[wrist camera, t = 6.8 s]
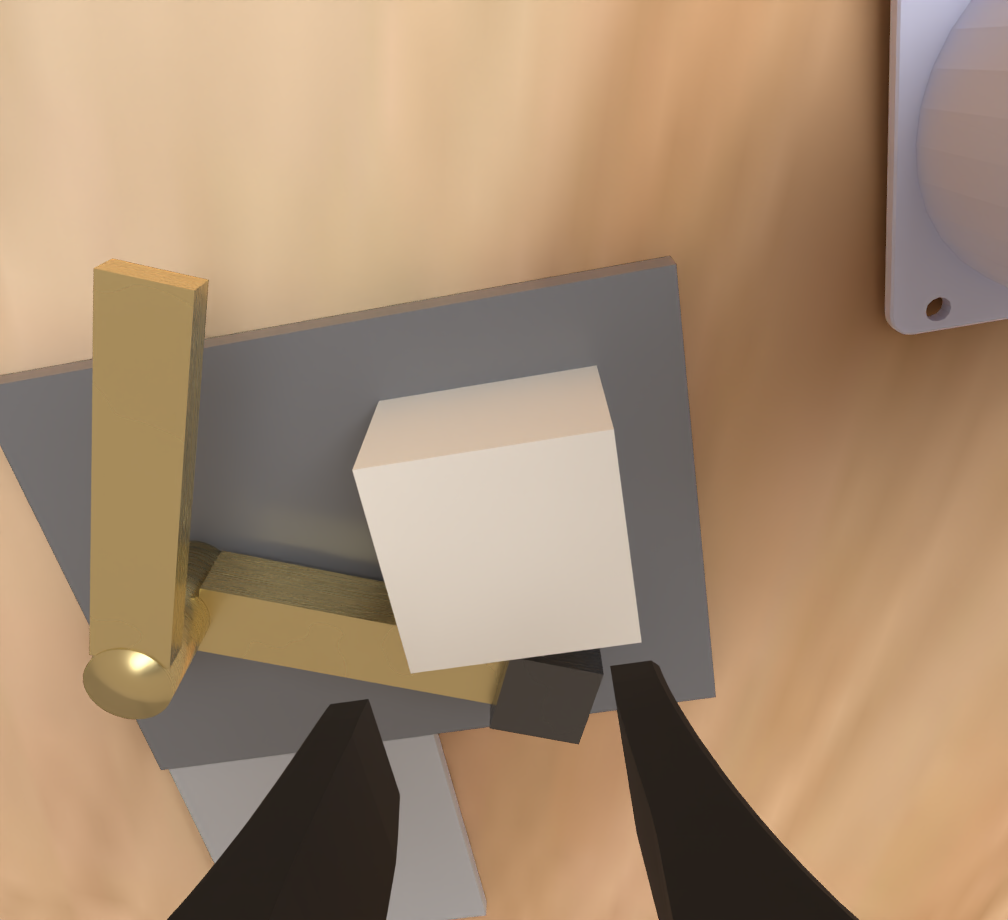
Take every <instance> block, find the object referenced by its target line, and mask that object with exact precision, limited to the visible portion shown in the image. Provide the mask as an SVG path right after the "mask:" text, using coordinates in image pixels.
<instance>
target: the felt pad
mask: <svg viewBox="0 0 1008 920" xmlns="http://www.w3.org/2000/svg"><path fill="white" fill-rule="evenodd" d="M383 744H384V747H385V750H386V753H387V756H388V759H389V762H390V765H391V768H392V772H393V775H394V778H395V781H396V784H397V787H398V790H399V793H400V808H399V829H398V844H397V858H396V866H395V872H394V878H393V884H392V890H391V896H390V901H389V907H388V913H387V918H386V920H449V919H458V918H467V917H476V916H485V915H486V898H485V894H484V891H483V888H482V884H481V881H480V877H479V874H478V870H477V867H476V863H475V860H474V856H473V853H472V849H471V846H470V842H469V839H468V836H467V832H466V829H465V825H464V822H463V818H462V815H461V811H460V808H459V804H458V801H457V797H456V794H455V790H454V787H453V783H452V780H451V777H450V773H449V770H448V766H447V763H446V759H445V756H444V752H443V749H442V745H441V742H440V738H439V735H438V734H431V735H424V736H416V737H408V738H401V739H393V740H386V741H383ZM295 754H296V752H294V753H287V754H279V755H272V756H264V757H256V758H249V759H241V760H234V761H226V762H218V763H211V764H203V765H196V766H188V767H180V768H173V769H169V771H170V773H171V776H172V778H173V780H174V782H175V784H176V786H177V788H178V790H179V792H180V794H181V796H182V798H183V800H184V802H185V804H186V806H187V808H188V810H189V812H190V814H191V816H192V818H193V820H194V823H195V825H196V827H197V829H198V831H199V833H200V835H201V837H202V839H203V841H204V843H205V845H206V847H207V849H208V851H209V853H210V855H211V857H212V859H213V861H214V863H216V861H217V860H218V859H219V858H220V856H221V855H222V854H223V853H224V851H225V850H226V849H227V847H228V846H229V845H230V844H231V842H232V841H233V840H234V839H235V837H236V836H237V835H238V834H239V832H240V831H241V830H242V828H243V827H244V826H245V824H246V823H247V822H248V820H249V819H250V818H251V816H252V815H253V813H254V812H255V811H256V809H257V808H258V807H259V805H260V804H261V802H262V801H263V800H264V798H265V797H266V795H267V794H268V793H269V791H270V790H271V788H272V787H273V786H274V784H275V783H276V781H277V780H278V779H279V777H280V776H281V774H282V773H283V771H284V770H285V769H286V767H287V766H288V764H289V763H290V761H291V760H292V758H293V757H294V755H295Z"/></svg>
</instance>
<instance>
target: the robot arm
mask: <svg viewBox="0 0 1008 920" xmlns="http://www.w3.org/2000/svg"><path fill="white" fill-rule="evenodd" d="M939 297H941V298H942V301H943V303H942V306H941V309H940V310H939V311H938V312H937V313H936V314H934V315H931V316H927V315H926V309H927V306H928V304H929V303H930V302H931V301H932V300H934V299H936V298H939ZM885 317H886V321H887V322H888V324H889V325H890V326H891V327H892V328H893V329H895V330H896V331H898V332H900V333H902V334H909V335H914V334H920V333H926V332H932V331H938V330H944V329H950V328H956V327H962V326H968V325H974V324H980V323H986V322H992V321H998V320H1004V319H1008V0H891V11H890V64H889V116H888V169H887V221H886V273H885ZM610 669H611V675H612V681H613V688H614V694H615V700H616V706H617V713H618V719H619V725H620V731H621V738H622V744H623V750H624V756H625V763H626V769H627V775H628V781H629V788H630V794H631V800H632V806H633V813H634V819H635V825H636V831H637V836H638V840H639V844H640V848H641V852H642V856H643V860H644V864H645V867H646V871H647V875H648V879H649V883H650V887H651V891H652V895H653V899H654V903H655V907H656V910H657V914H658V918H659V920H859V919H858V918H857V917H855V916H854V915H853V914H852V913H851V912H850V911H849V910H848V909H847V908H845V907H844V906H843V905H842V904H841V903H840V902H839V901H838V900H837V899H836V898H835V897H834V896H833V895H832V894H831V893H830V892H829V891H828V890H827V889H826V888H825V887H824V886H823V885H822V884H821V883H820V882H819V881H818V880H817V879H816V878H815V877H814V876H813V875H812V874H811V873H810V872H809V871H808V870H807V869H806V868H805V867H804V866H803V865H802V864H801V863H800V862H799V861H798V860H797V859H796V858H795V856H794V855H793V854H792V853H791V852H790V851H789V850H788V849H787V848H786V847H785V846H784V845H783V844H782V843H781V841H780V840H779V839H778V838H777V837H776V836H775V835H774V834H773V832H772V831H771V830H770V829H769V828H768V827H767V826H766V824H765V823H764V822H763V821H762V820H761V819H760V817H759V816H758V815H757V814H756V813H755V811H754V810H753V809H752V808H751V806H750V805H749V804H748V803H747V801H746V800H745V799H744V798H743V797H742V795H741V794H740V793H739V792H738V790H737V789H736V788H735V787H734V785H733V784H732V783H731V781H730V780H729V779H728V777H727V776H726V775H725V773H724V772H723V771H722V769H721V768H720V767H719V765H718V764H717V762H716V761H715V760H714V758H713V757H712V755H711V754H710V753H709V751H708V750H707V748H706V747H705V746H704V744H703V743H702V741H701V740H700V738H699V737H698V735H697V734H696V732H695V731H694V729H693V728H692V726H691V725H690V723H689V721H688V720H687V718H686V717H685V715H684V713H683V712H682V710H681V708H680V707H679V705H678V703H677V701H676V700H675V698H674V696H673V694H672V692H671V690H670V689H669V687H668V685H667V682H666V680H665V678H664V676H663V674H662V671H661V669H660V666H659V665H658V664H656V663H655V662H653V661H651V660H650V661H643V662H635V663H628V664H621V665H613V666H610ZM399 808H400V793H399V790H398V787H397V784H396V781H395V778H394V775H393V772H392V768H391V765H390V762H389V759H388V756H387V753H386V750H385V747H384V744H383V741H382V738H381V735H380V732H379V729H378V726H377V723H376V720H375V717H374V714H373V711H372V708H371V705H370V702H369V699H364V700H357V701H349V702H342V703H335V704H330V705H329V706H328V708H327V709H326V710H325V712H324V713H323V714H322V716H321V717H320V719H319V720H318V722H317V723H316V724H315V726H314V727H313V729H312V730H311V732H310V733H309V735H308V736H307V738H306V739H305V741H304V742H303V744H302V745H301V747H300V748H299V750H298V751H297V752H296V754H295V755H294V757H293V758H292V760H291V761H290V763H289V764H288V766H287V767H286V769H285V770H284V771H283V773H282V774H281V776H280V777H279V779H278V780H277V781H276V783H275V784H274V786H273V787H272V788H271V790H270V791H269V793H268V794H267V795H266V797H265V798H264V800H263V801H262V802H261V804H260V805H259V807H258V808H257V809H256V811H255V812H254V813H253V815H252V816H251V818H250V819H249V820H248V822H247V823H246V824H245V826H244V827H243V828H242V830H241V831H240V832H239V834H238V835H237V836H236V837H235V839H234V840H233V841H232V842H231V844H230V845H229V846H228V847H227V849H226V850H225V851H224V853H223V854H222V855H221V856H220V858H219V859H218V860H217V861H216V863H215V864H214V865H213V867H212V868H211V869H210V870H209V872H208V873H207V874H206V875H205V877H204V878H203V879H202V880H201V881H200V883H199V884H198V885H197V886H196V887H195V888H194V890H193V891H192V892H191V893H190V894H189V896H188V897H187V898H186V899H185V900H184V901H183V902H182V904H181V905H180V906H179V907H178V908H177V909H176V910H175V911H174V912H173V914H172V915H171V916H170V917H169V918H168V919H167V920H386V918H387V913H388V907H389V901H390V896H391V890H392V884H393V878H394V872H395V866H396V858H397V844H398V829H399Z"/></svg>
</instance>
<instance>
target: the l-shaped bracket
mask: <svg viewBox="0 0 1008 920" xmlns="http://www.w3.org/2000/svg"><path fill="white" fill-rule="evenodd" d="M208 282H209V280H207V279H202V278H198V277H193V276H189V275H184V274H180V273H175V272H171V271H166V270H162V269H157V268H153V267H148V266H144V265H139V264H135V263H130V262H126V261H121V260H117V259H111V260H109V261H107V262H105V263H103V264H101V265H99V266H97V267H95V268H94V285H93V374H92V463H91V551H90V640H89V655H94V656H93V657H92V659H91V660H90V661H89V663H88V664H87V666H86V668H85V670H84V673H83V683H84V687H85V690H86V692H87V693H88V695H89V697H90V698H91V699H92V700H93V701H94V702H95V703H96V704H97V705H98V706H99V707H100V708H102V709H103V710H105V711H107V712H109V713H111V714H113V715H115V716H119V717H122V718H127V719H146V718H150V717H153V716H156V715H158V714H159V713H161V712H162V711H164V710H165V709H166V707H167V706H168V705H169V703H170V701H171V699H172V697H173V696H174V694H175V692H176V690H177V688H178V686H179V684H180V682H181V680H182V678H183V677H184V675H185V673H186V671H187V669H188V667H189V665H190V663H191V661H192V660H193V658H194V656H195V654H196V652H197V650H198V651H203V652H209V653H214V654H220V655H225V656H231V657H236V658H242V659H247V660H253V661H258V662H264V663H269V664H275V665H280V666H286V667H291V668H296V669H302V670H307V671H313V672H318V673H324V674H329V675H335V676H340V677H346V678H351V679H357V680H362V681H368V682H373V683H378V684H384V685H389V686H395V687H400V688H406V689H411V690H417V691H422V692H428V693H433V694H439V695H444V696H450V697H455V698H461V699H466V700H471V701H477V702H482V703H488V704H490V728H491V729H497V730H502V731H508V732H513V733H519V734H525V735H530V736H536V737H541V738H547V739H552V740H558V741H563V742H569V743H575V744H579V742H580V739H581V736H582V734H583V731H584V728H585V725H586V722H587V720H588V717H589V714H590V711H591V709H592V706H593V703H594V700H595V698H596V695H597V692H598V689H599V687H600V684H601V681H602V678H603V675H604V673H603V666H602V659H601V652H600V648H596V649H589V650H582V651H574V652H567V653H559V654H552V655H544V656H537V657H529V658H522V659H515V660H507V661H500V662H492V663H485V664H477V665H470V666H462V667H455V668H448V669H440V670H433V671H425V672H418V673H411V672H410V669H409V665H408V662H407V658H406V655H405V651H404V648H403V644H402V641H401V638H400V634H399V631H398V627H397V624H396V620H395V617H394V613H393V610H392V606H391V603H390V599H389V596H388V592H387V589H386V586H385V582H382V581H376V580H371V579H366V578H361V577H356V576H351V575H346V574H340V573H335V572H330V571H325V570H320V569H315V568H310V567H304V566H299V565H294V564H289V563H284V562H279V561H273V560H268V559H263V558H258V557H253V556H248V555H243V554H237V553H232V552H227V551H220V550H219V549H217V548H216V547H214V546H212V545H210V544H207V543H205V542H201V541H190V529H191V515H192V501H193V488H194V474H195V460H196V447H197V433H198V419H199V406H200V392H201V378H202V364H203V351H204V337H205V323H206V310H207V296H208Z"/></svg>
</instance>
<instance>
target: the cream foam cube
mask: <svg viewBox="0 0 1008 920" xmlns="http://www.w3.org/2000/svg"><path fill="white" fill-rule="evenodd" d="M352 471H353V474H354V478H355V481H356V485H357V488H358V492H359V495H360V499H361V502H362V506H363V509H364V513H365V516H366V520H367V523H368V527H369V530H370V533H371V537H372V540H373V544H374V547H375V551H376V554H377V558H378V561H379V565H380V568H381V572H382V575H383V579H384V582H385V586H386V589H387V592H388V596H389V599H390V603H391V606H392V610H393V613H394V617H395V620H396V624H397V627H398V631H399V634H400V638H401V641H402V644H403V648H404V651H405V655H406V658H407V662H408V665H409V669H410V672H411V673H418V672H425V671H433V670H440V669H448V668H455V667H462V666H470V665H477V664H485V663H492V662H500V661H507V660H515V659H522V658H529V657H537V656H544V655H552V654H559V653H567V652H574V651H582V650H589V649H596V648H604V647H611V646H619V645H626V644H634V643H641V642H642V641H641V634H640V626H639V618H638V611H637V603H636V595H635V588H634V580H633V572H632V565H631V557H630V549H629V542H628V534H627V526H626V519H625V511H624V503H623V496H622V488H621V480H620V473H619V465H618V457H617V450H616V442H615V434H614V428H613V424H612V420H611V417H610V413H609V409H608V406H607V402H606V398H605V395H604V391H603V387H602V383H601V380H600V376H599V372H598V369H597V365H596V366H590V367H584V368H578V369H571V370H565V371H559V372H553V373H547V374H541V375H535V376H529V377H523V378H516V379H510V380H504V381H498V382H492V383H486V384H480V385H474V386H467V387H461V388H455V389H449V390H443V391H437V392H431V393H425V394H419V395H412V396H406V397H400V398H394V399H388V400H382V401H379V402H378V404H377V407H376V410H375V412H374V415H373V417H372V420H371V423H370V425H369V428H368V430H367V433H366V436H365V438H364V441H363V443H362V446H361V449H360V451H359V454H358V456H357V459H356V462H355V464H354V467H353V469H352Z"/></svg>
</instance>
